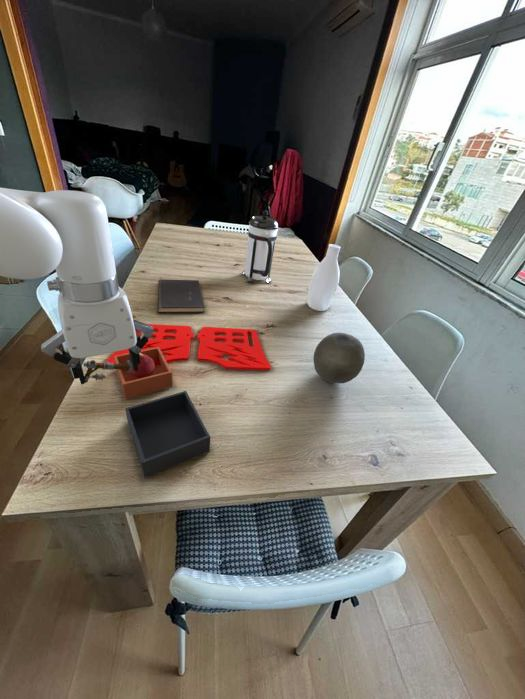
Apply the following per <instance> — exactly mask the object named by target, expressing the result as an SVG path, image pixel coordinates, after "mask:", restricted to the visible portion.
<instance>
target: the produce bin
mask: <svg viewBox="0 0 525 699" xmlns="http://www.w3.org/2000/svg"><path fill="white" fill-rule="evenodd" d="M162 352H163V351H162ZM162 352H161V350H160V348H159V347H156V348H151V349H146V350H141V352H140V353H141V354H145V355H147V356H149V357H150V358H152V359H153V361H159V363H160V365H157V366H155V370H154V372H153V373H152V375H151V376H148V377H144V378H137V377H135V376H134V375H133V374H132V373H131V371H130V373H127V371H125V370H119V369H115V370H116V373H117V376H118V377H117V378H118V380H119V382H120V385H121V389H122V393H123V396H124V398H125V400H130V399H133V398H136V397H137V398H138V397H141V396H143V395H147V394H153V393H154V392H155V393H156V392H158V391H162V390H165V389H166V390H167V389H170V388H173V386H174V385H173V371H172V370H171V368H170V366H169V364H168V363H167V362H166V360H165V358H164V356H165V355H163V353H162ZM114 360H115V364H120V363H127V361H130V355H129V353H126V354H122V355H117V356H114ZM130 362H131V361H130Z"/></svg>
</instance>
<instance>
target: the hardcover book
mask: <svg viewBox="0 0 525 699" xmlns="http://www.w3.org/2000/svg"><path fill="white" fill-rule="evenodd" d="M157 284H158V285H157V286H158V287H157V288H158V289H157V312H158V314H204V313H205V308H206V307H205V303H204V298H203V294H202V290H201V284H200V280H199V279H198V280H197V279H162V278H160V279H158V282H157Z"/></svg>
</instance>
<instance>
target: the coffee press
mask: <svg viewBox="0 0 525 699" xmlns="http://www.w3.org/2000/svg"><path fill="white" fill-rule="evenodd" d="M248 226H249V227H248V231H247V246H246V254H245V262H244V270H243V271H242V275H244V276H246V277H248V279H247V283H248V284H252V282H253V281H255V280H256V281H266V283H267V284H270V283H272V279H271V270H272V265H273V258H274V252H275V247H276V241H277V238H278V230H279V228H280V225H279V223H278V221H277V220H276V219H275V218H274V217H272V216H270V215H269V211H268V210H266V209H265V210H263V211H262V214H257V215H254V216H252V217H250V220H248Z"/></svg>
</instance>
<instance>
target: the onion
mask: <svg viewBox="0 0 525 699" xmlns="http://www.w3.org/2000/svg"><path fill="white" fill-rule="evenodd" d="M139 354H140V362H141V364H138V371H134V369H133V367H132V369H131V373H132V374H133V375H134V376H135V377H137V378H144V377H148V376H151V375H152V373H153V372H154V370H155V365H154V361H153V359H152V358H150V357H149V356H147V355H145V354H141V353H139Z"/></svg>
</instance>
